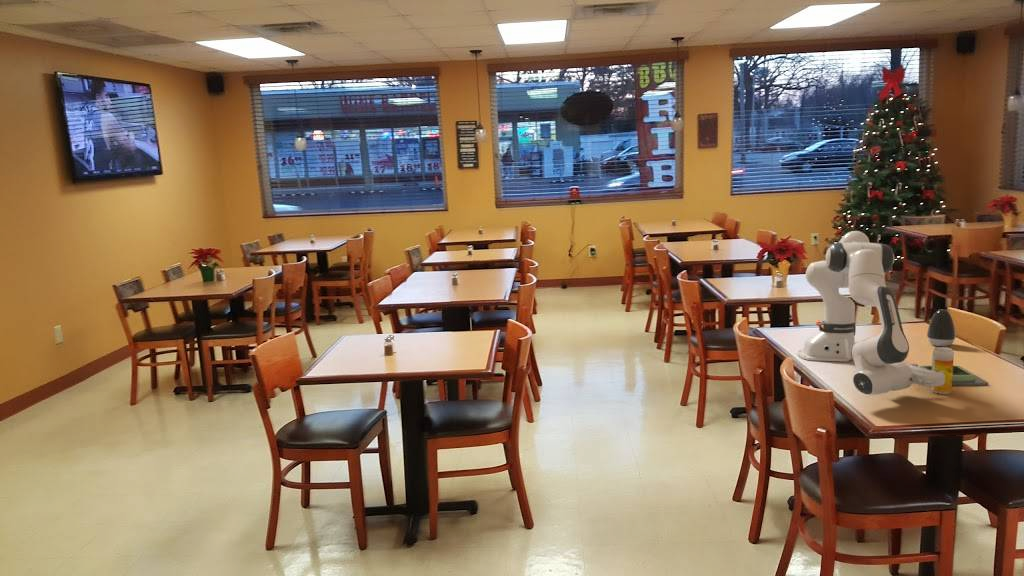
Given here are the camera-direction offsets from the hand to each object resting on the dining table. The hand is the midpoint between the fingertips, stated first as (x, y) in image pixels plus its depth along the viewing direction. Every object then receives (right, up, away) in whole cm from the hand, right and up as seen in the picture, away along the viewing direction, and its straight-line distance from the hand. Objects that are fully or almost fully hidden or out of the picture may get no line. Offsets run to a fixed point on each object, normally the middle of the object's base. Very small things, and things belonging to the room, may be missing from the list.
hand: (928, 369), depth 244 cm
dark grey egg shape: (+40, +3, +62) cm, 74 cm away
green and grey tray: (+16, -5, +17) cm, 24 cm away
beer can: (+6, -8, +4) cm, 11 cm away
